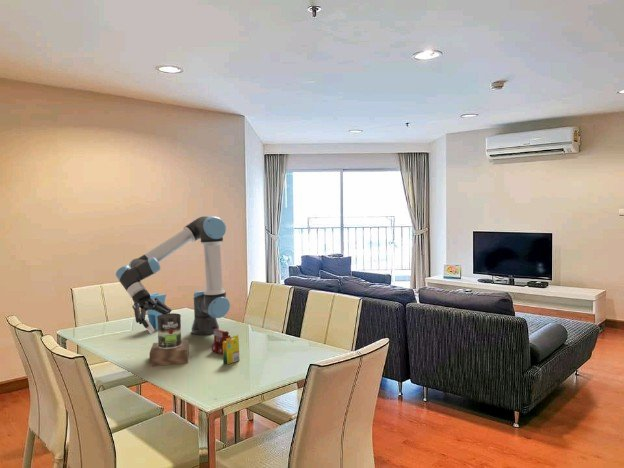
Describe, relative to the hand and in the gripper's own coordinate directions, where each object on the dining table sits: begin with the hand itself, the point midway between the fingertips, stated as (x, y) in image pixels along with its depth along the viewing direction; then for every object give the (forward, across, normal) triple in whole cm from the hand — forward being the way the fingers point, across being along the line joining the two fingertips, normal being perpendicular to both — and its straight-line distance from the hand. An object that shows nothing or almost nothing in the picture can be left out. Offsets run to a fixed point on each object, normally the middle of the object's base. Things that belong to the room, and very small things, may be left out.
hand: (163, 328), depth 213 cm
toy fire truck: (+23, -19, +4) cm, 30 cm away
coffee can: (+8, -1, -4) cm, 9 cm away
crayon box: (+32, -8, +12) cm, 35 cm away
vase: (-21, -40, -42) cm, 62 cm away
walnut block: (+12, 0, -8) cm, 14 cm away
